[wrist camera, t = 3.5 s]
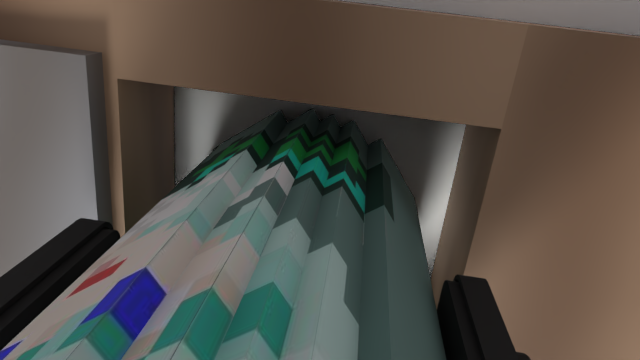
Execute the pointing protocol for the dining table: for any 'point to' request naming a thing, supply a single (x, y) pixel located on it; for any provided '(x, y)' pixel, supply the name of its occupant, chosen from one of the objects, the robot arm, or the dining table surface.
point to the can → (259, 262)
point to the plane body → (358, 94)
